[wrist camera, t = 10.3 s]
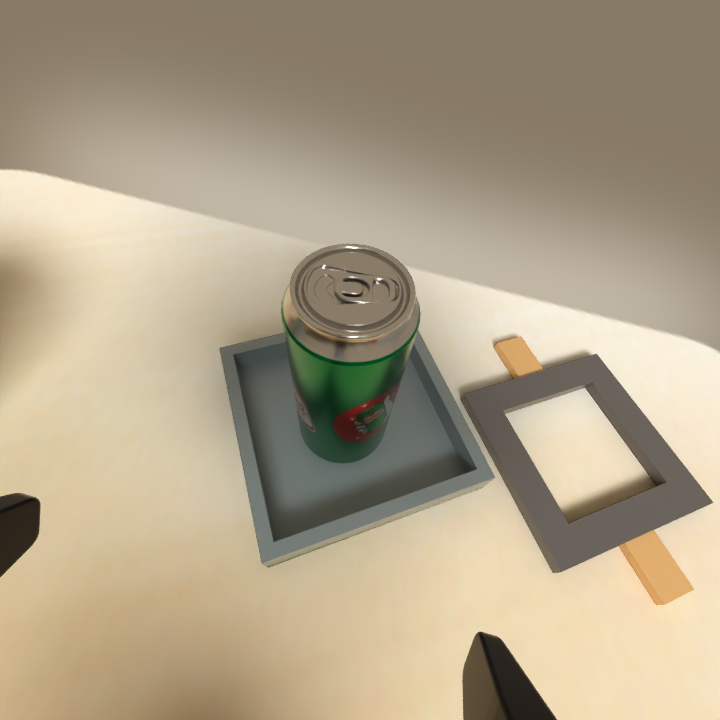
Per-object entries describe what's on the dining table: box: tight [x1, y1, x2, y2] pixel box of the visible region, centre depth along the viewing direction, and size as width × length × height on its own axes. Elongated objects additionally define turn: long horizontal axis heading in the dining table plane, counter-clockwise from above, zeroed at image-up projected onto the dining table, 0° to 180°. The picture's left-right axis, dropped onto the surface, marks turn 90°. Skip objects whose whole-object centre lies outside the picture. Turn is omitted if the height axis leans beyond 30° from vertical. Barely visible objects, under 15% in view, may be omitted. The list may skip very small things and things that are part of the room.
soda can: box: [281, 244, 420, 463], centre depth 18 cm, size 5×5×12 cm
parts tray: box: [220, 330, 495, 567], centre depth 23 cm, size 12×12×2 cm
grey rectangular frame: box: [461, 337, 713, 605], centre depth 24 cm, size 11×17×1 cm, turn 19°
